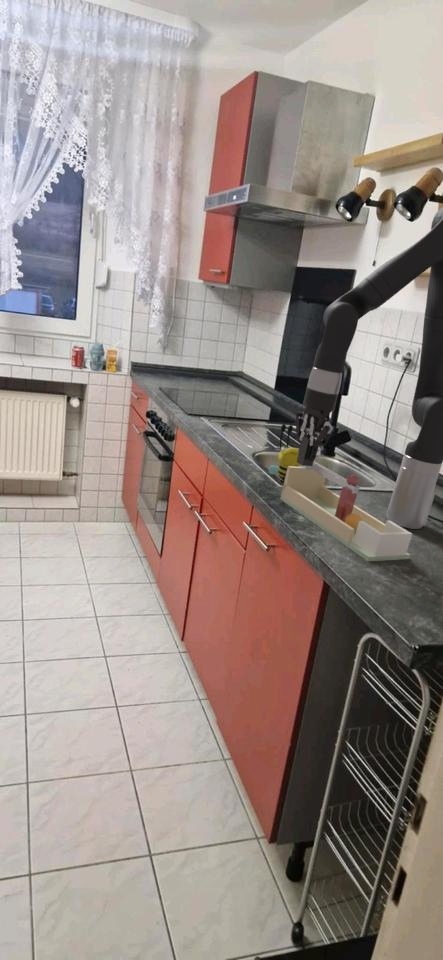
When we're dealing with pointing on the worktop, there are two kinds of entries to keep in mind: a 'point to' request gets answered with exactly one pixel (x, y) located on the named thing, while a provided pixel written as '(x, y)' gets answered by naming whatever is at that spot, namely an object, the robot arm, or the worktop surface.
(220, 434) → the worktop surface
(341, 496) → the grey red jointed piece
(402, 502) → the robot arm
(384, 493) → the worktop surface
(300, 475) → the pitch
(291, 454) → the toy
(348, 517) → the ball
